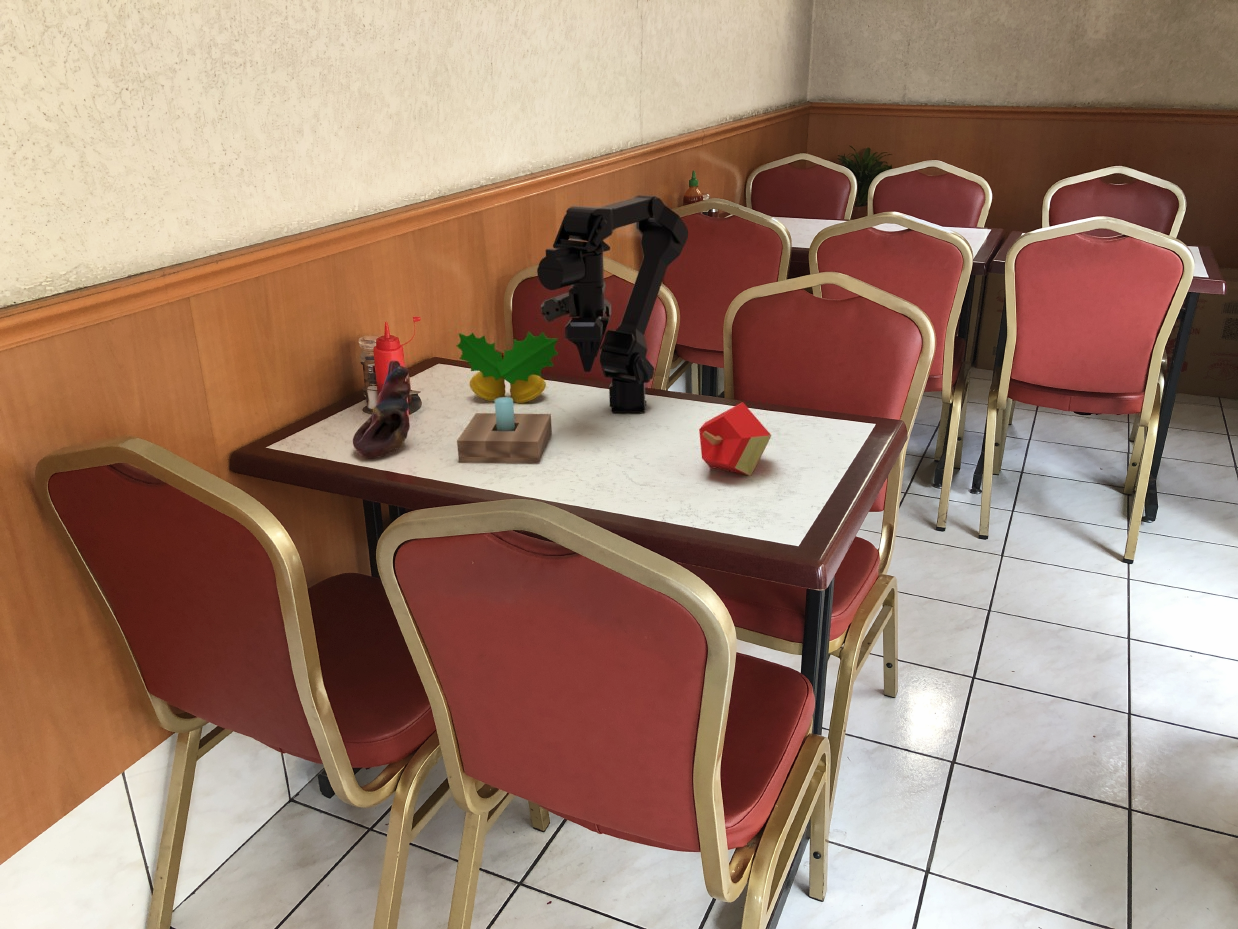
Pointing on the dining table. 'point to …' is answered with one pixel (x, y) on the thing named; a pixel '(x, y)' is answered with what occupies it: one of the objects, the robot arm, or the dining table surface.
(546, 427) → the hole block
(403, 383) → the anatomical model
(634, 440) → the dining table surface
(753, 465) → the apple
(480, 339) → the ornament
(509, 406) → the dowel
